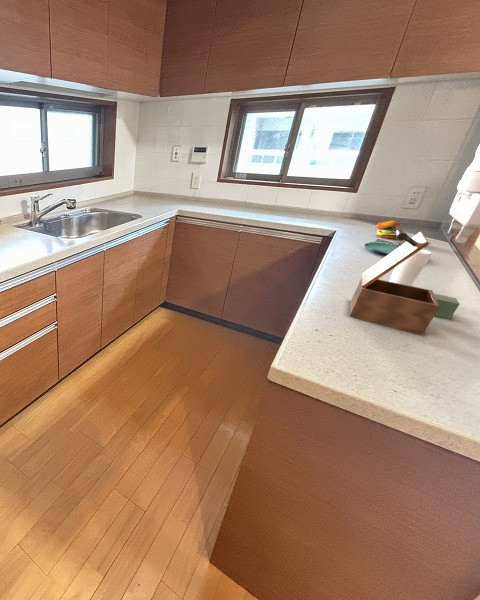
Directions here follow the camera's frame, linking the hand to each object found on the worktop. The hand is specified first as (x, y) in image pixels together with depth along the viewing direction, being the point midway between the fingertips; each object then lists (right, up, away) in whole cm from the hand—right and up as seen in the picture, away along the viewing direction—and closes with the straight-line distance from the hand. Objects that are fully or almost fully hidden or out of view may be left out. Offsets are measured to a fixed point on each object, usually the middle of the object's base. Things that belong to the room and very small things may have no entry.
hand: (455, 238), depth 87 cm
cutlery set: (+47, +7, +66) cm, 81 cm away
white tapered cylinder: (+7, -14, +23) cm, 28 cm away
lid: (-14, -6, +2) cm, 16 cm away
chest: (-12, -21, +8) cm, 26 cm away
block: (+7, -20, +11) cm, 24 cm away
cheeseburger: (+65, +18, +88) cm, 111 cm away
